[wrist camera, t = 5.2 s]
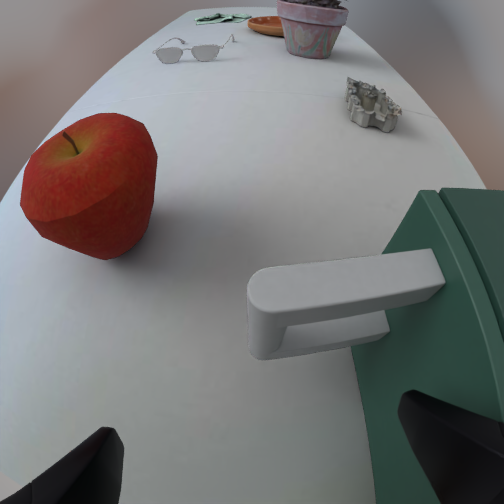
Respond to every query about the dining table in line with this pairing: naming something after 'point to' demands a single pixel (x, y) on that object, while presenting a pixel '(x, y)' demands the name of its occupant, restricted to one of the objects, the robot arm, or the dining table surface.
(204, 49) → the eyeglasses
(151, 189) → the apple
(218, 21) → the cloth
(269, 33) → the saucer
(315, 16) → the potted plant
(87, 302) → the dining table surface
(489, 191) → the box
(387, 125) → the egg carton
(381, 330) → the cooler door
